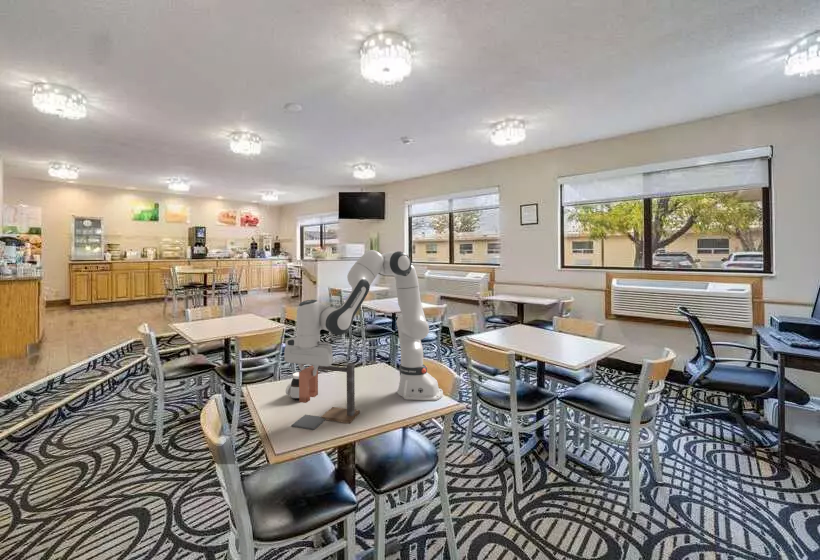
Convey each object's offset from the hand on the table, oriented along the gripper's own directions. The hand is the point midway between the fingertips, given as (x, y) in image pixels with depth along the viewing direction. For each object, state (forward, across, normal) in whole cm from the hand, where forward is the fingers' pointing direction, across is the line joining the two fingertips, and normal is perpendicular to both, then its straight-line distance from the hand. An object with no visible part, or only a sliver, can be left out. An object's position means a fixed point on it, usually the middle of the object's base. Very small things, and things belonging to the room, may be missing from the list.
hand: (308, 374), depth 144 cm
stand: (+20, -7, -9) cm, 23 cm away
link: (+10, 0, 0) cm, 10 cm away
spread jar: (+20, +20, -22) cm, 36 cm away
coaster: (+20, 0, 0) cm, 20 cm away
